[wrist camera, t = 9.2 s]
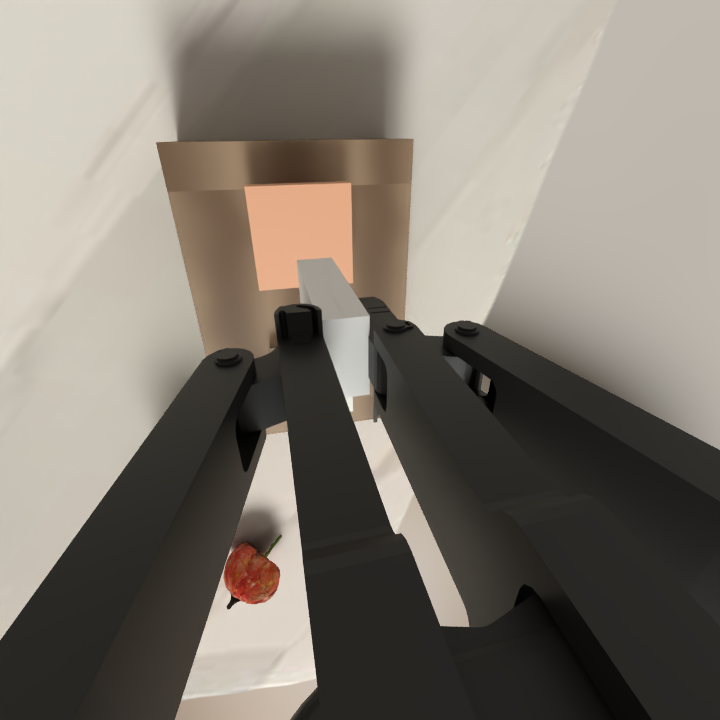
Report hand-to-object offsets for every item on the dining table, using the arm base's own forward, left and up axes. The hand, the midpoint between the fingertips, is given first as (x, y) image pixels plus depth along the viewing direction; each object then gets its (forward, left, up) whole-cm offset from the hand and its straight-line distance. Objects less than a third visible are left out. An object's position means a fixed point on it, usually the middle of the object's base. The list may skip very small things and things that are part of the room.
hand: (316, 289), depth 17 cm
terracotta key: (0, 0, -17) cm, 17 cm away
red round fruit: (-9, -42, -19) cm, 47 cm away
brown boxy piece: (0, -6, -19) cm, 20 cm away
